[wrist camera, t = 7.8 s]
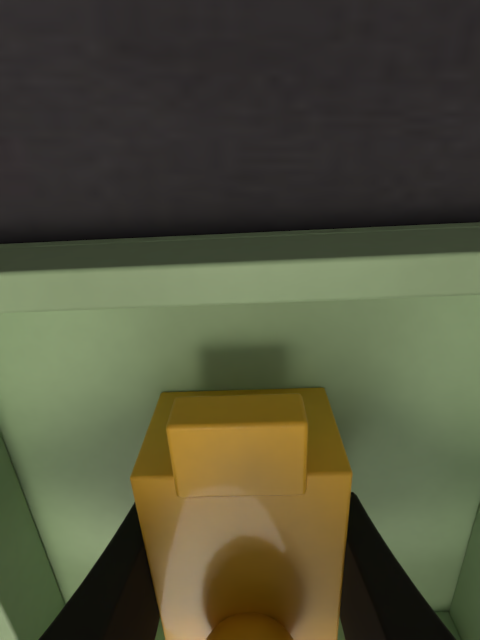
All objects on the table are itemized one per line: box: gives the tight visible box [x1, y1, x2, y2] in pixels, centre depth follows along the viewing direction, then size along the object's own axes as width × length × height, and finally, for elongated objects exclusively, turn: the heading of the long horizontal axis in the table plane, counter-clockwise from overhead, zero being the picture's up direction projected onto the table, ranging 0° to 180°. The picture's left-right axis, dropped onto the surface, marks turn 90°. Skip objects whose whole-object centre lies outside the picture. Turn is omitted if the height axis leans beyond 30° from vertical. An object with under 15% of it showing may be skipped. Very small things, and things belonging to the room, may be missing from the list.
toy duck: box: [130, 387, 353, 640], centre depth 9 cm, size 9×4×5 cm, turn 3°
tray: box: [0, 222, 480, 640], centre depth 11 cm, size 16×15×3 cm
